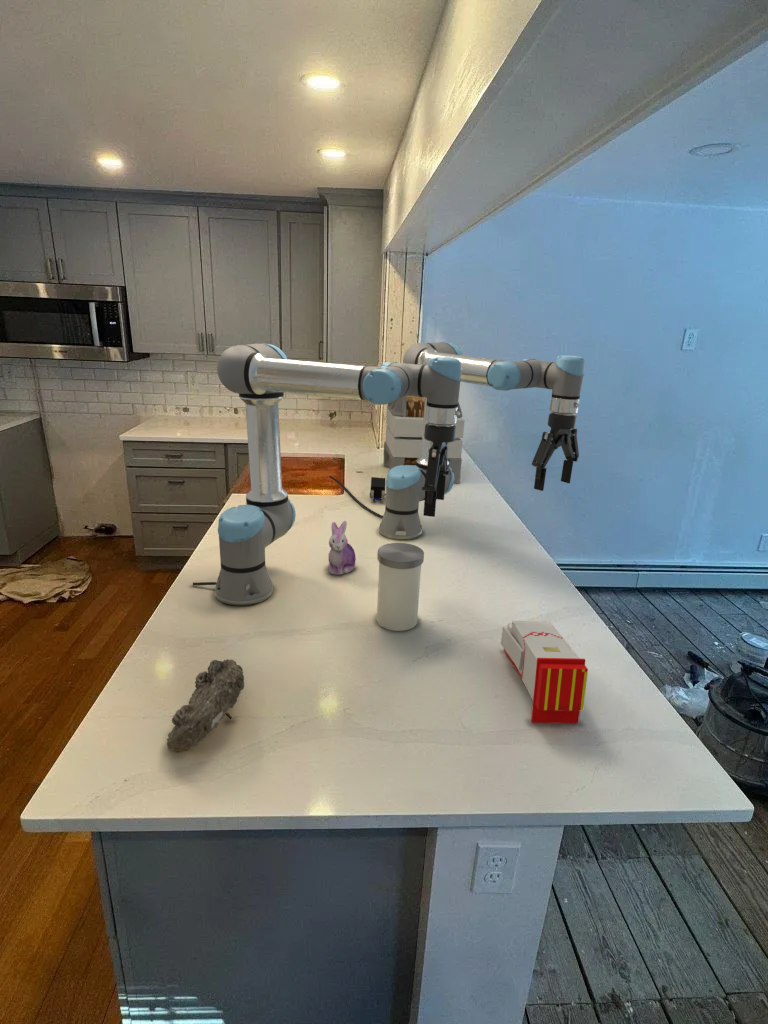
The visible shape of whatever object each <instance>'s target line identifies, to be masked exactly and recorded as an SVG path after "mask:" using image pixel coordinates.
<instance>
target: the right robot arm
mask: <svg viewBox="0 0 768 1024" xmlns="http://www.w3.org/2000/svg"><path fill="white" fill-rule="evenodd" d="M432 357H451V358H457V359H459V360H460V362H461V381H460V383H465V384H473V385H479V386H487V387H491V388H492V389H494V390H496V391H503V392H504V391H511V390H520V389H532V388H533V389H534V388H539V389H546V390H551V398H550V404H549V413H548V418H547V419H548V420H547V426H548V427H549V428H550V431H549V432H548V431H543V432H542V435H541V440H540V442H539V445H538V447H537V449H536V452H535V454H534V457H533V460H532V461H531V466H533V467H535V475H534V477H535V478H534V485H533V489H534V490H537V491H539V492H543V491H544V489H545V484H546V483H545V482H546V476H547V468H546V466H547V465H548V463H549V461H550V459H551V457H552V456H553V454H554V453H555V451H556V450H557V449H558V448H560V447H561V449H562V452H563V455H564V458H565V459H563V463H562V468H561V469H562V470H561V475H560V482H562V483H566V484H571V478H572V472H573V466H574V463H576V462H578V461H579V457H580V453H579V444H578V428H576V423H577V419H578V416H577V414H578V412H579V411H578V410H579V406H580V397H581V391H582V385H583V380H584V376H585V365H586V360H585V358H584V357H582V356H578V355H566V354H565V355H564V354H563V355H558V356H557V357H556V360H555V361H549V360H541V359H536V358H524V359H521V360H506V359H505V360H504V359H503V360H502V359H496V358H487V357H479V356H471V355H464V354H463V352H462V350H461V349H460V347H459V346H457V345H456V344H455V343H451V342H445V341H443V342H442V341H441V342H440V341H439V342H438V341H437V342H417V343H414V344H412V345H411V346H409V347H408V348H407V350H406V351H405V353H404V355H403V358H402V363H406V364H417V365H428V364H429V361H430V358H432ZM426 404H427V398H426V397H425V404H424V419H423V434H422V449H421V457H420V458H418V459H417V461H416V466H413V465H401V466H396V467H394V468H392V469H390V468H389V470H388V472H387V474H386V479H385V494H386V495H385V504H384V505H385V507H384V508H385V509H384V513H383V515H382V514H380V513H378V512H376V511H374V510H373V509H371V508H370V507H368V506H366V505H365V504H364V503H362V502H361V501H360V500H358V499H357V497H355V496H354V494H353V493H351V491H350V490H349V489H348V488H347V487H346V486H345V485H344V484H343V483H342V482H341V481H340V480H338V479H337V478H335V477H333V476H332V475H328V477H329V478H330V479H332V481H335V482H336V483H337V484H338V485H340V486H341V487H342V488H343V490H345V492H347V494H348V495H349V496H350V497H351V498H352V499H353V500H354V501H355V502H356V503H357V504H358V505H360V506H361V507H362V508H364V509H365V510H367V511H368V512H370V514H372V515H375V516H376V517H378V518H381V522H379V527H378V533H379V534H380V535H381V536H382V537H385V538H387V539H389V540H395V541H410V540H415V539H418V538H420V537H421V536H422V535H423V525H422V524H421V518H420V515H419V507H420V506H419V505H420V502H424V501H425V490H422V487H424V485H425V478H426V471H427V465H428V458H429V449H430V448H431V447H432V445H433V442H431V441H428V440H426V439H425V438H424V432H425V425H426V424H427V422H426V421H425V415H426ZM447 467H448V469H447V471H449V475H445V476H446V481H445V492H444V496H446V495H448V493H450V492H451V490H452V489H453V488H454V487H453V486H454V484H455V483H454V473H452V469H451V467H450V466H449V462H448V465H447ZM429 486H433V485H429Z"/></svg>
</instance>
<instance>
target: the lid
mask: <svg viewBox="0 0 768 1024" xmlns="http://www.w3.org/2000/svg"><path fill="white" fill-rule="evenodd" d="M376 558H377V561H378V563H379V562H380V563H381V564H383V565H385V566H387V567H390V568H396V569H411V568H415V567H418V566H420V565H421V566H422V564H423V563H424V559H425V552H424V550H423V549H422V548H420V547H419V546H417V545H415V544H412V543H406V542H391V543H386V544H383V545H381V546H380V547H379V548H377V557H376Z"/></svg>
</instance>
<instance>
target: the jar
mask: <svg viewBox="0 0 768 1024" xmlns="http://www.w3.org/2000/svg"><path fill="white" fill-rule="evenodd" d="M421 571H422V564H421V565H420V566H418V567H415V568H411V569H396V568H390V567H387V566H385V565H383V564H381V563H380V562H379V561H378V580H377V581H378V582H377V601H376V602H377V603H376V604H377V605H376V622H377V624H378V625H379V626H380V627H382V628H384V629H386V630H389V631H393V632H404V631H408V630H411V629H413V628H415V626H416V625H417V623H418V617H419V616H418V614H419V601H420V589H421V575H422V574H421V573H422V572H421Z"/></svg>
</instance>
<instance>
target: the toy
mask: <svg viewBox="0 0 768 1024" xmlns="http://www.w3.org/2000/svg"><path fill="white" fill-rule="evenodd" d="M500 645H501V646H502V648H503V652H504V654H505V655H506V657H507V658H508V660H509V661H510V663H511V664H512V666H513V668H514V669H515V671H516V672H517V674H518V676H519V677H520V679H521V680H522V683H523V685H524V686H525V688H526V690H527V692H528V694H529V696H530V697H531V699H532V708H531V719H530V722H531V723H532V724H579V719H580V712H583V711H584V706H585V697H586V689H587V680H588V671H589V669H588V667H587V666H586V659H585V658H580V657H579V656H578V655H577V654H576V652H575V651H574V650H573V648H572V647H571V646H570V645H569V644H568V642H567V641H566V640H565V638H564V637H563V636H562V634H561V633H560V632H559V631H558V630H557V628H556V627H555V626H554V624H553V623H552V622H551V621H549V620H548V621H545V620H540V621H539V620H511V622H508V623H507V626H502V632H501V638H500Z"/></svg>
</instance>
